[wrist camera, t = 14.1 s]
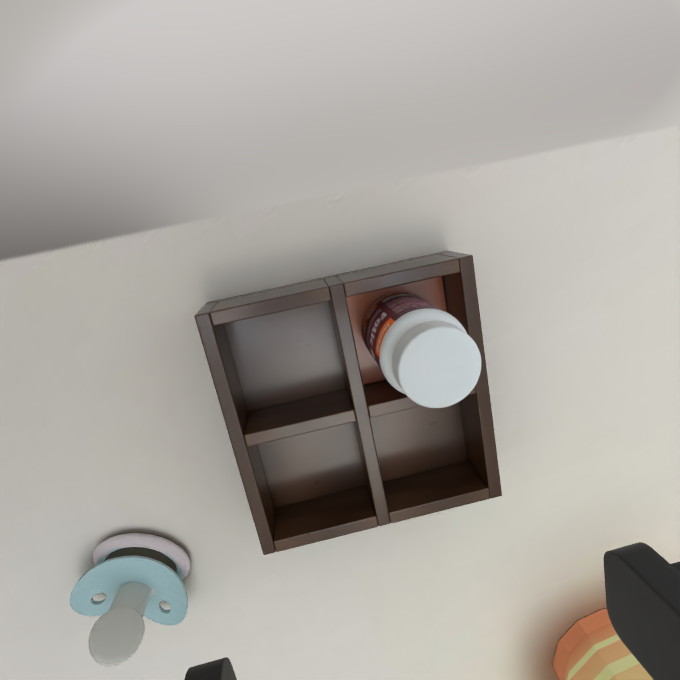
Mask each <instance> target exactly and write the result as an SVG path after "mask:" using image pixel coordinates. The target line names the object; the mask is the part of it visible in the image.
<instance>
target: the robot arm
mask: <svg viewBox="0 0 680 680" xmlns="http://www.w3.org/2000/svg"><path fill="white" fill-rule="evenodd" d="M604 572H605V589H606V605H607V612H608V615H609V618H610V621H611V623H612V626H613V628H614V630H615V631H616V633H617V635H618V636H619V638H620V639H621V641H622V642H623V643H624V645H625V646H626V647H627V648H628V649H629V651H630V652H631V653H632V654H633V656H634V657H635V658H636V659H637V660H638V662H639V663H640V664H641V665H642V666H643V668H644V669H645V670H646V671H647V672H648V674H649V675H650V676H651V677H652V679H653V680H680V562H677V563H673V564H669V563H668V562H667V561H666V560H665V559H664V558H663V557H661V556H660V555H659V554H658V553H657V552H656V551H654V550H653V549H652V548H651V547H650V546H648V545H647V544H645V543H641V542H639V543H635V544H632V545H628V546H625V547H621V548H618V549H614V550H611V551H607V552H606V553H605V554H604ZM185 680H237V679H236V676H235V673H234V670H233V667H232V665H231V662H230V660H229V659H228V658H227V657H226V658H223V659H219V660H215V661H212V662H208V663H205V664H201V665H198V666H194V667H191V668H189V669H188V671H187V673H186V677H185Z"/></svg>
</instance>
